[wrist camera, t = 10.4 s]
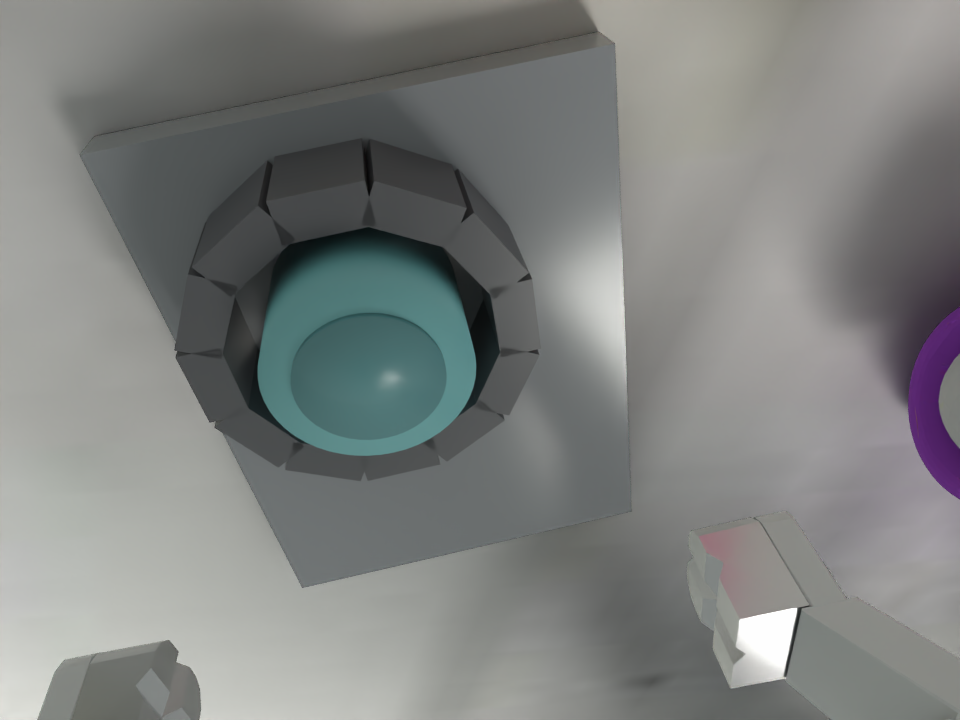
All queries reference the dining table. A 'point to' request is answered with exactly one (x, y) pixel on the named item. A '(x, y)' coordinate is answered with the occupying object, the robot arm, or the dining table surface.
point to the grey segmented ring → (336, 209)
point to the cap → (365, 343)
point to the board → (542, 243)
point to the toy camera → (938, 403)
